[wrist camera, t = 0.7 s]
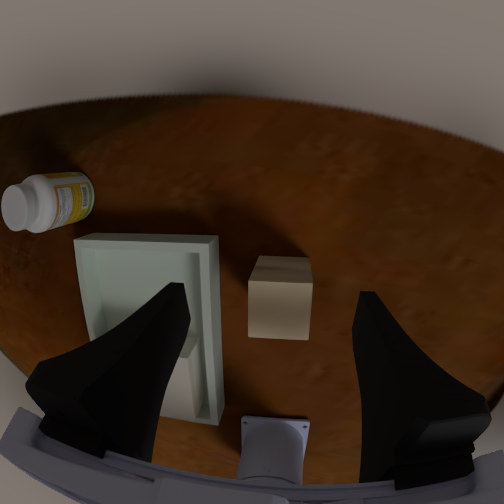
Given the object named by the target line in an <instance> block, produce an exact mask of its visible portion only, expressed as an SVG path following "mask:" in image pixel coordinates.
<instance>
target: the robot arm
mask: <svg viewBox="0 0 504 504" xmlns="http://www.w3.org/2000/svg"><path fill="white" fill-rule="evenodd" d="M190 322H191V316H190V311H189V307H188V302H187V297H186V292H185V286H184V283H177V282H170V283H169V284H167V285H166V286H165V287H164V288H163V289H161V290H160V291H159V292H158V293H157V294H156V295H154V296H153V297H152V298H151V299H150V300H149V301H147V302H146V303H145V304H144V305H143V306H142V307H140V308H139V309H138V310H137V311H135V312H134V313H133V314H132V315H130V316H129V317H128V318H126V319H125V320H124V321H123V322H121V323H120V324H118V325H117V326H116V327H114V328H113V329H111V330H109V331H108V332H106V333H105V334H103V335H101V336H100V337H98V338H96V339H94V340H92V341H90V342H89V343H87V344H85V345H83V346H81V347H79V348H76V349H74V350H72V351H70V352H67V353H65V354H62V355H59V356H56V357H53V358H50V359H47V360H44V361H41V362H39V363H38V365H37V366H36V368H35V369H34V371H33V372H32V374H31V375H30V377H29V379H28V380H27V382H26V384H25V387H26V390H27V392H28V394H29V395H30V396H31V398H32V399H33V400H34V401H35V403H36V404H37V405H38V406H39V407H40V408H41V410H42V411H43V412H44V413H45V416H44V417H43V419H42V418H40V417H39V416H37V415H36V414H34V413H31V412H30V411H27V410H25V409H23V408H21V407H19V408H18V410H17V411H16V413H15V415H14V416H13V418H12V420H11V422H10V423H9V425H8V427H7V429H6V431H5V432H4V434H3V436H2V438H1V440H0V454H1V455H3V456H4V457H5V458H6V459H8V460H9V461H10V462H11V463H13V464H14V465H15V466H17V467H18V468H19V469H21V470H22V471H23V472H25V473H26V474H28V475H29V476H31V477H32V478H34V479H36V480H38V481H39V482H41V483H43V484H45V485H46V486H48V487H50V488H52V489H54V490H55V491H57V492H59V493H61V494H63V495H65V496H67V497H69V498H71V499H73V500H75V501H77V502H79V503H81V504H504V453H503V450H499V451H496V452H492V453H489V454H485V455H482V456H479V457H477V458H475V459H474V460H473V459H472V454H471V453H473V452H474V450H475V447H474V444H473V442H474V441H475V440H476V439H477V438H478V437H479V436H480V435H481V434H482V433H483V432H484V431H485V430H486V429H487V427H488V426H489V425H490V422H491V420H492V418H491V414H490V411H489V407H488V404H487V402H486V399H485V397H484V396H483V395H481V394H479V393H477V392H476V391H474V390H472V389H470V388H469V387H467V386H465V385H464V384H462V383H461V382H459V381H458V380H456V379H455V378H454V377H452V376H451V375H449V374H448V373H447V372H446V371H444V370H443V369H442V368H441V367H439V366H438V365H437V364H436V363H435V362H434V361H432V360H431V359H430V358H429V357H428V356H427V355H426V354H425V353H424V352H423V351H422V350H421V349H420V348H419V347H418V346H417V345H416V344H415V343H414V342H413V341H412V340H411V338H410V337H409V336H408V335H407V334H406V333H405V331H404V330H403V329H402V328H401V326H400V325H399V324H398V322H397V321H396V320H395V319H394V317H393V316H392V315H391V313H390V312H389V311H388V309H387V308H386V306H385V305H384V304H383V302H382V301H381V299H380V298H379V297H378V295H377V294H376V293H375V292H370V291H360V294H359V299H358V304H357V309H356V313H355V318H354V322H353V326H352V336H353V351H354V357H355V363H356V369H357V375H358V381H359V387H360V393H361V403H362V448H361V466H360V477H359V483H354V484H327V485H308V484H302V471H303V459H304V454H305V448H306V443H307V437H308V431H309V426H310V421H309V420H307V419H285V418H269V417H256V416H242V419H241V433H242V452H241V457H240V461H239V465H238V470H237V474H236V478H235V479H229V478H221V477H215V476H209V475H203V474H197V473H192V472H187V471H182V470H178V469H173V468H169V467H164V466H160V465H156V464H152V463H151V460H152V453H153V446H154V440H155V435H156V430H157V425H158V420H159V416H160V411H161V407H162V403H163V399H164V396H165V392H166V388H167V385H168V383H169V380H170V377H171V375H172V372H173V370H174V368H175V365H176V363H177V360H178V358H179V355H180V353H181V350H182V348H183V345H184V343H185V340H186V337H187V334H188V330H189V326H190Z"/></svg>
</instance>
